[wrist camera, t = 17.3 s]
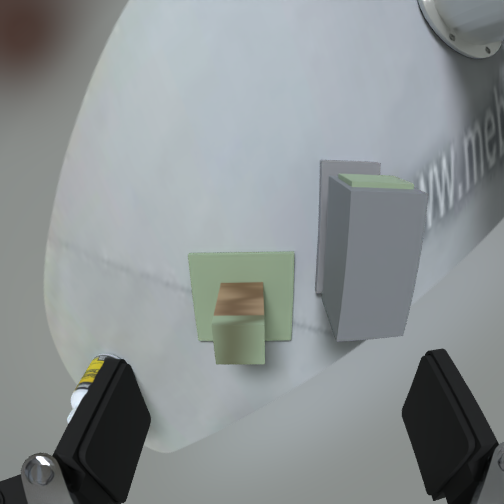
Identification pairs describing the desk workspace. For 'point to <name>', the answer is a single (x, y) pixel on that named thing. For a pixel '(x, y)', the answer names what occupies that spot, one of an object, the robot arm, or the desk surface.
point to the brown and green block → (239, 324)
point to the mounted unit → (367, 248)
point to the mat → (237, 271)
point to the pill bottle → (87, 381)
